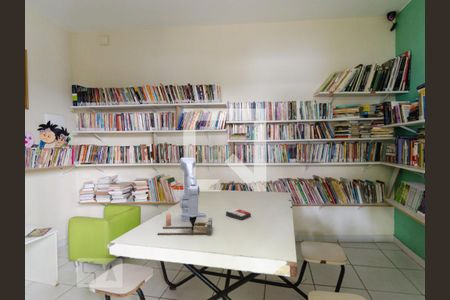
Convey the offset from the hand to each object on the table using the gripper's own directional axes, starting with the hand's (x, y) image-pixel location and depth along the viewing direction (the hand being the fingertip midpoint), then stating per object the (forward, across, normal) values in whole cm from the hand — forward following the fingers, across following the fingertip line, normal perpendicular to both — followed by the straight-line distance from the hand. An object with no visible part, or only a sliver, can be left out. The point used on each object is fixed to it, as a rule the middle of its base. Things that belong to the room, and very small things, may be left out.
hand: (193, 229), depth 121 cm
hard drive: (+3, +28, +31) cm, 42 cm away
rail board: (+2, -4, 0) cm, 5 cm away
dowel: (+2, -17, +10) cm, 20 cm away
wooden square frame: (+1, +5, 0) cm, 5 cm away
